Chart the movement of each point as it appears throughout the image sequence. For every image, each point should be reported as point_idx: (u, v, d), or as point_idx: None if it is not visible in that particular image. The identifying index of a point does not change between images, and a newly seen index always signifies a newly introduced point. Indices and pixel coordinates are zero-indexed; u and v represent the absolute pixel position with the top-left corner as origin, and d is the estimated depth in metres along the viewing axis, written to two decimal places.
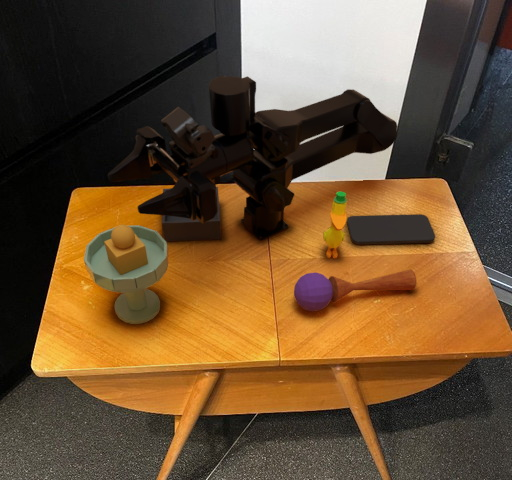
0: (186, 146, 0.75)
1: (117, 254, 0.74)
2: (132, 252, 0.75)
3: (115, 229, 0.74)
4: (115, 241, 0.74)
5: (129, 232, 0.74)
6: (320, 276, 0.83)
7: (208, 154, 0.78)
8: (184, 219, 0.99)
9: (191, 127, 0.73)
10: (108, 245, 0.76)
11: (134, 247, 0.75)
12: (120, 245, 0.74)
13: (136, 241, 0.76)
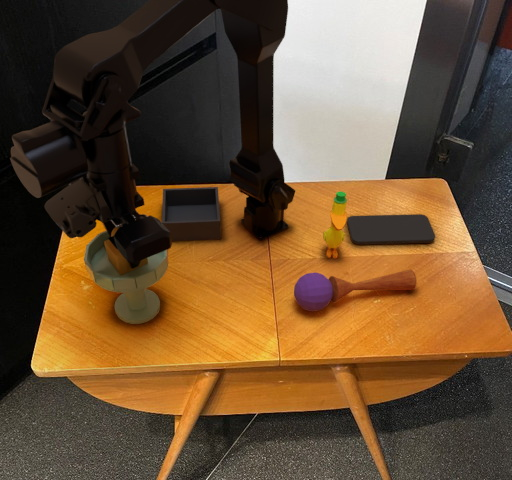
0: None
1: (117, 254, 0.74)
2: None
3: (115, 229, 0.74)
4: None
5: None
6: (320, 276, 0.83)
7: (99, 197, 0.66)
8: (184, 219, 0.99)
9: (65, 233, 0.65)
10: (108, 245, 0.76)
11: None
12: None
13: None
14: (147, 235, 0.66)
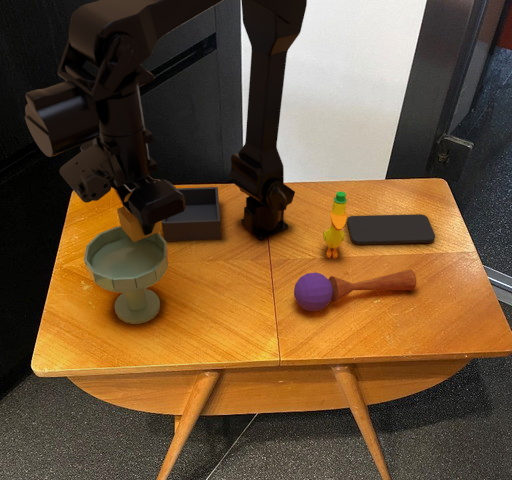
0: None
1: (131, 221, 0.75)
2: None
3: (128, 196, 0.75)
4: None
5: None
6: (320, 276, 0.83)
7: (114, 160, 0.67)
8: (184, 219, 0.99)
9: (81, 197, 0.66)
10: (121, 212, 0.76)
11: None
12: None
13: None
14: (161, 197, 0.67)
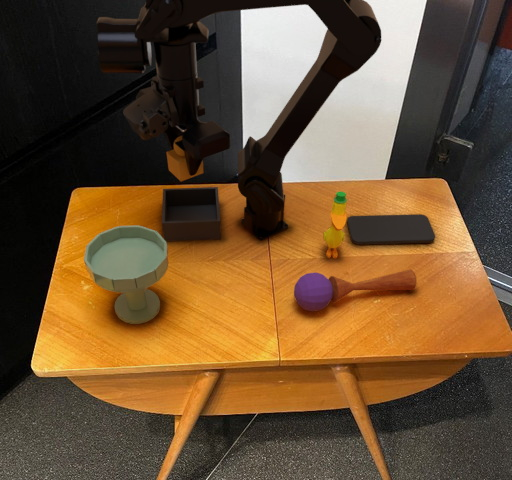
0: None
1: (179, 161, 0.86)
2: None
3: (178, 139, 0.86)
4: (178, 149, 0.86)
5: None
6: (320, 276, 0.83)
7: (171, 102, 0.78)
8: (184, 219, 0.99)
9: (143, 133, 0.77)
10: (170, 154, 0.87)
11: None
12: (182, 153, 0.86)
13: None
14: (211, 134, 0.78)
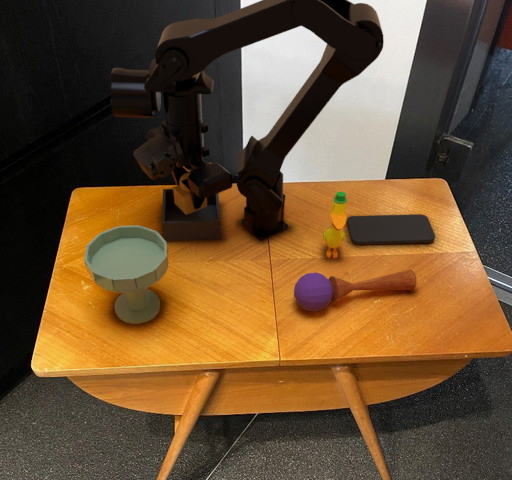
0: None
1: (185, 196, 0.93)
2: None
3: (183, 176, 0.92)
4: (183, 186, 0.92)
5: None
6: (320, 276, 0.83)
7: (178, 146, 0.84)
8: (184, 219, 0.99)
9: (151, 174, 0.84)
10: (176, 190, 0.94)
11: None
12: (187, 189, 0.92)
13: None
14: (215, 176, 0.84)
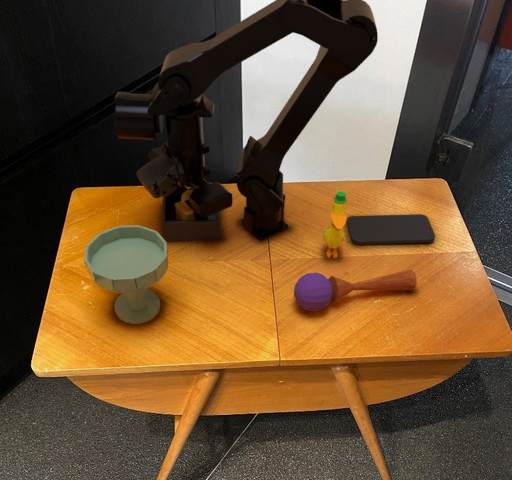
0: None
1: (186, 213, 0.95)
2: None
3: (185, 193, 0.95)
4: None
5: None
6: (320, 276, 0.83)
7: (179, 166, 0.87)
8: None
9: (154, 194, 0.86)
10: (178, 206, 0.96)
11: None
12: None
13: None
14: (215, 195, 0.87)
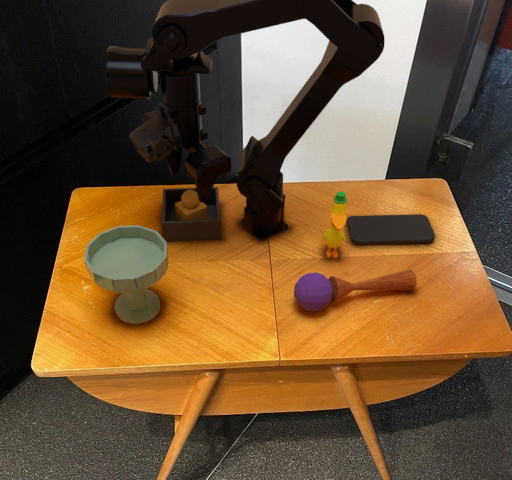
0: None
1: (186, 213, 0.95)
2: (197, 211, 0.96)
3: (185, 193, 0.95)
4: (185, 202, 0.95)
5: (196, 195, 0.95)
6: (320, 276, 0.83)
7: (175, 128, 0.82)
8: None
9: (148, 157, 0.81)
10: (178, 206, 0.96)
11: (199, 207, 0.96)
12: (189, 205, 0.95)
13: (199, 203, 0.97)
14: (213, 159, 0.82)
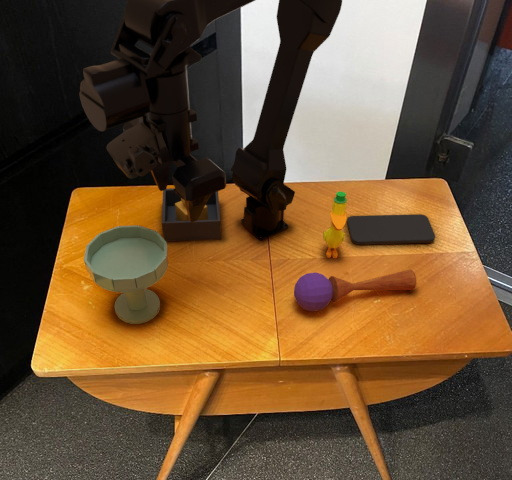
0: None
1: (186, 213, 0.95)
2: None
3: None
4: None
5: None
6: (320, 276, 0.83)
7: (160, 138, 0.69)
8: None
9: (128, 172, 0.69)
10: (178, 206, 0.96)
11: None
12: None
13: None
14: (205, 174, 0.70)
